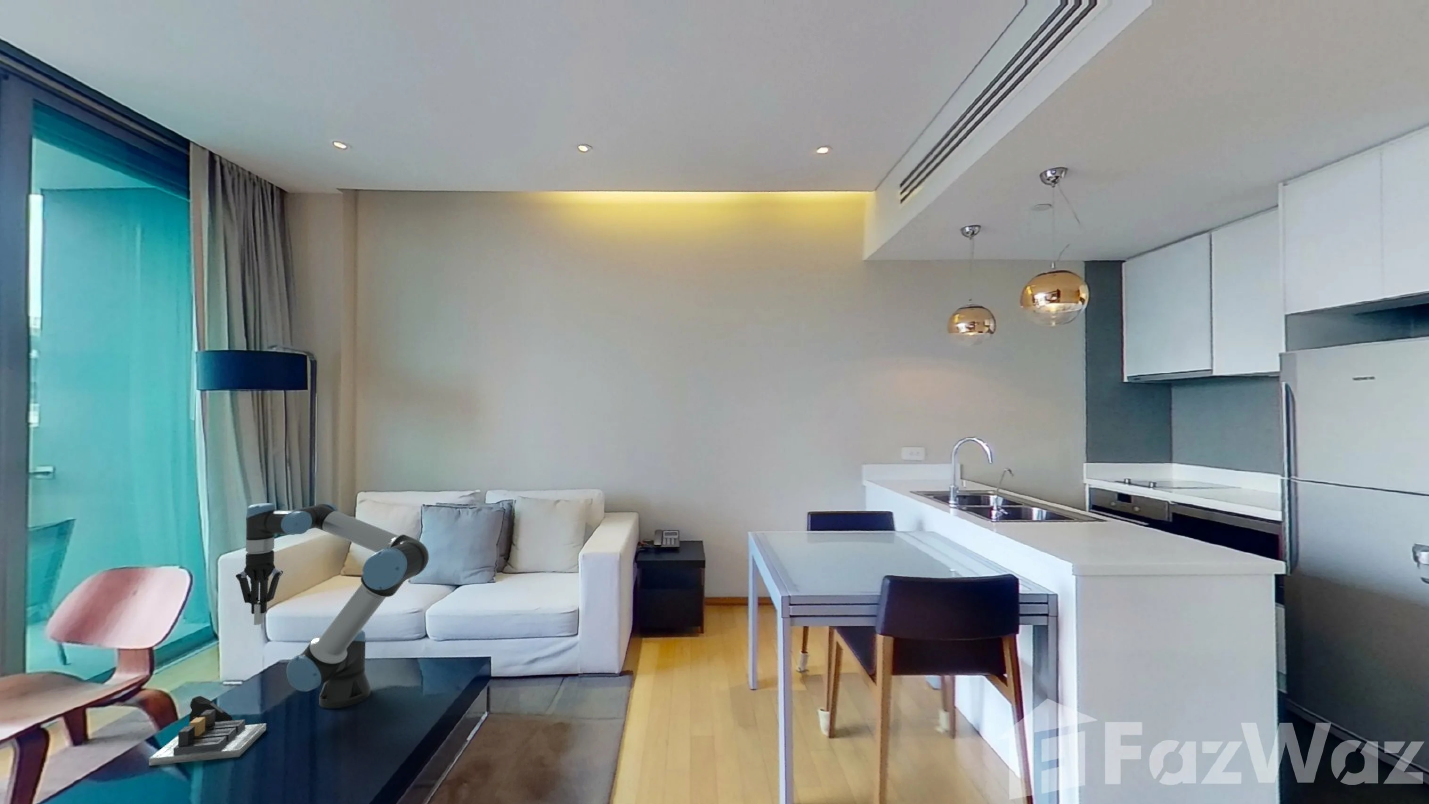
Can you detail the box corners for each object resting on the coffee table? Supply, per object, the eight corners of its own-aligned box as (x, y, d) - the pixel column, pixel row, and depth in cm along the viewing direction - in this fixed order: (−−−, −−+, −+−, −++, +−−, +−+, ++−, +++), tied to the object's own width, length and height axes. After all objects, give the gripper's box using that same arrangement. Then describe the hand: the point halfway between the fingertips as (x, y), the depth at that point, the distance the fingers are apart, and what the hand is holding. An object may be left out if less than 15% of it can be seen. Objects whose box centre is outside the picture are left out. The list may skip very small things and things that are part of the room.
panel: (265, 729, 189) (266, 703, 189) (239, 756, 174) (239, 728, 174) (183, 737, 184) (184, 710, 184) (149, 765, 169) (149, 736, 169)
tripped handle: (204, 730, 180) (205, 716, 180) (198, 735, 177) (198, 721, 177) (195, 731, 179) (195, 717, 180) (189, 736, 177) (189, 722, 177)
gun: (217, 750, 187) (230, 722, 186) (179, 721, 190) (192, 694, 189) (226, 745, 190) (239, 718, 189) (189, 716, 193) (201, 690, 192)
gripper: (287, 547, 205) (286, 618, 204) (243, 549, 202) (242, 620, 201) (276, 552, 197) (275, 625, 197) (230, 554, 195) (229, 628, 194)
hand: (258, 623), depth 199 cm, fingers closed
